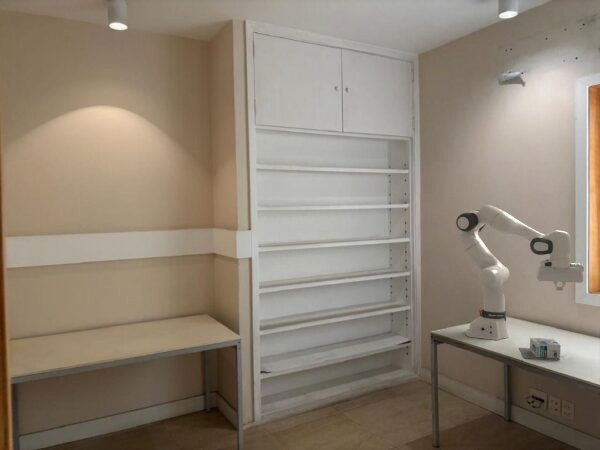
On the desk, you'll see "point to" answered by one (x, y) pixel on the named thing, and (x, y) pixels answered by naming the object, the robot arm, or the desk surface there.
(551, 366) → the desk surface
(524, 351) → the rubber mat
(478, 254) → the robot arm
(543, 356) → the light bulb box
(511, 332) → the desk surface
